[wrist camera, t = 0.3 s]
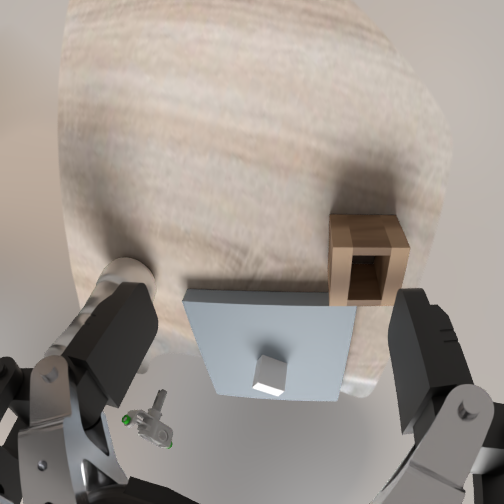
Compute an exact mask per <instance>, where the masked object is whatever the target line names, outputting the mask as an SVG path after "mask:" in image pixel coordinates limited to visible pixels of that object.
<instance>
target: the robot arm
mask: <svg viewBox="0 0 504 504" xmlns="http://www.w3.org/2000/svg"><path fill="white" fill-rule="evenodd" d="M84 323H85V324H84V325H82V327H81V328H80V329H79V331H78V332H77V333H76V335H75V336H74V337H73V339H72V340H71V342H70V343H69V344H68V346H67V347H66V349H65V350H64V352H63V353H62V354H61V356H59V355H51V356H48V357H45V358H43V359H42V360H40V361H39V362H38V363H37V364H36V366H35V367H34V368H19V367H18V365H17V364H16V362H15V361H14V360H13V358H11V357H2V358H0V421H1V419H2V418H3V416H4V414H5V412H6V410H7V408H8V407H9V408H10V409H11V410H12V411H13V412H14V413H15V415H16V416H18V418H17V420H16V422H15V424H14V426H13V428H12V430H11V431H10V433H9V435H8V437H7V439H6V441H5V443H4V445H3V446H0V504H20V502H21V499H22V497H23V504H199V503H197V502H195V501H192V500H191V499H189V498H187V497H185V496H183V495H181V494H179V493H177V492H175V491H173V490H171V489H169V488H167V487H164V486H160V485H157V484H153V483H149V482H147V481H143V480H140V479H137V478H134V477H131V476H130V478H129V480H128V478H127V476H126V474H125V473H124V471H123V470H122V468H121V467H120V465H119V463H118V461H117V458H116V455H115V451H114V448H113V444H112V440H111V436H110V432H109V428H108V424H107V419H106V415H105V413H104V411H103V409H104V407H105V405H109V406H113V407H116V408H119V406H120V404H121V402H122V400H123V398H124V396H125V394H126V392H127V390H128V388H129V386H130V384H131V382H132V380H133V378H134V376H135V374H136V372H137V371H138V369H139V367H140V365H141V363H142V361H143V359H144V357H145V355H146V353H147V351H148V349H149V347H150V345H151V343H152V342H153V340H154V338H155V336H156V334H157V330H158V318H157V314H156V312H155V309H154V306H153V303H152V300H151V297H150V294H149V292H148V289H147V286H146V285H145V284H144V283H140V282H122V283H121V284H120V285H119V286H118V287H117V288H116V290H115V291H114V292H113V294H112V295H110V296H108V297H107V298H106V299H104V300H103V301H102V302H100V303H99V304H98V305H97V307H96V308H95V309H94V310H93V312H92V313H91V316H89V317H88V318H87V320H86V321H85V322H84ZM388 346H389V351H390V356H391V362H392V367H393V373H394V380H395V386H396V392H397V399H398V407H399V414H400V421H401V431H402V435H403V434H412V433H414V439H415V444H414V445H413V446H412V448H411V449H410V451H409V452H408V454H407V455H406V457H405V458H404V460H403V461H402V462H401V464H400V465H399V467H398V468H397V470H396V471H395V472H394V474H393V475H392V476H391V478H390V479H389V480H388V482H387V483H386V485H385V486H384V487H383V488H382V490H381V491H380V492H379V493H378V494H377V496H376V497H375V498H374V499H373V500H372V501H371V502H370V503H369V504H462V502H463V499H464V497H465V490H464V489H463V485H464V483H465V480H466V478H467V477H468V474H469V473H473V484H474V485H473V486H474V504H504V404H501V403H495V402H493V401H492V399H491V397H490V396H489V394H488V393H487V392H486V391H485V390H484V389H482V388H481V387H479V386H476V385H474V383H473V380H472V377H471V374H470V371H469V368H468V366H467V363H466V360H465V357H464V354H463V351H462V349H461V346H460V344H459V343H458V338H457V336H456V333H455V332H454V328H453V326H452V324H451V321H450V319H449V316H448V315H447V314H446V313H445V312H444V311H443V310H442V309H441V308H440V307H439V306H438V305H430V304H429V301H428V299H427V296H426V294H425V292H424V290H423V289H422V288H408V289H399V290H398V291H397V294H396V299H395V303H394V307H393V312H392V316H391V320H390V324H389V329H388Z"/></svg>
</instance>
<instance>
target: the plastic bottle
mask: <svg viewBox="0 0 504 504" xmlns="http://www.w3.org/2000/svg"><path fill="white" fill-rule="evenodd" d="M122 282H140V283H144V284H145V285H146V286H147V289H148V292H149V294H150V297H151V300H152V303H153V301H154V298H155V294H156V283H155V279H154V276H153V274H152V273H151V271H150V270H149V269H148V268H147V267H146V266H145V265H144V264H143V263H141V262H140V261H138V260H135V259H133V258H126V257H125V258H118V259H115V260H113V261H112V262H111V263H110V264H109V265H107V266H106V267H105V268H104V270H103V271H102V273H101V275H100V277H99V279H98V281H97V283H96V287H95V288H94V290H93V292H92V293H91V295H90V297H89V299H88V300H87V302H86V304H85V306H84V307H83V308H82V310H81V311H80V312H79V314H78V316H77V317H75V319H74V320H73V321H72V323H71V324H70V325H69V327H68V328H67V329H66V330H65V331H64V332H63V333H62V334H61V335H60V336H59V337H58V339H57V340H56V341H55V342H54V343H53V344H52V346H50V347H49V349H48V350H47V351H46V353H45V354H44V358H45V357H48V356H51V355H59V356H61V354H62V353H63V352H64V350H65V349H66V347H67V346H68V344H69V343H70V342H71V340H72V339H73V337H74V336H75V335H76V333H77V332H78V331H79V329H80V328H81V327H82V325H84V324H85V323H84V322H85V321H86V320H87V318H88V317H89V316H91V313H92V312H93V310H94V309H95V308H96V307H97V305H98V304H99V303H100V302H102V301H103V300H104V299H106V298H107V297H108V296H110V295H112V294H113V292H114V291H115V290H116V288H117V287H118V286H119V285H120V284H121V283H122Z"/></svg>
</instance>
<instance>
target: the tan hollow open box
mask: <svg viewBox="0 0 504 504" xmlns="http://www.w3.org/2000/svg"><path fill="white" fill-rule="evenodd" d="M409 252H410V246H409V243H408V241H407V239H406V236H405V234H404V232H403V230H402V227H401V225H400V223H399V221H398V219H397V216H396V215H343V214H330V218H329V252H328V286H329V306H394V303H395V299H396V294H397V291H398V290H399V289H401V287H402V283H403V279H404V275H405V270H406V266H407V261H408V257H409ZM352 255H375V259H374V264H352Z"/></svg>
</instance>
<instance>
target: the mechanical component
mask: <svg viewBox="0 0 504 504" xmlns="http://www.w3.org/2000/svg"><path fill="white" fill-rule="evenodd" d="M166 394H167V391H165V390H163V389H162V390H161V391H160V390H159V391H158V394H157V396H156V399H155V401H154V404H153V407H152V409H148V413H146V412H145V411H143V410H131V411H129V412H128V413H127V415H125V416H124V417H123V418H122V422H123V423H124V425H125V426H127V427H130V428H131V427H132V426H134V424H137V425H138V430H139V432H138V435H139V436H140V437H142V438H144V439H145V440H147V441H149V442H151V443H153V444H155V445H156V446H158V447H160V448H168V449H169V448H171V447H172V436H173V431H172V429H171V428H170V427H169V426H167V425H165V424H164V423H162V422H160V421H159V420H160V417H161V416H162V413H161V412H160V411H161V408H162V405H163V402H164V400H165V397H166ZM137 415H138V416H140V417H141V418H143V421H141V420H140V419H139V418H137Z"/></svg>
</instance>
